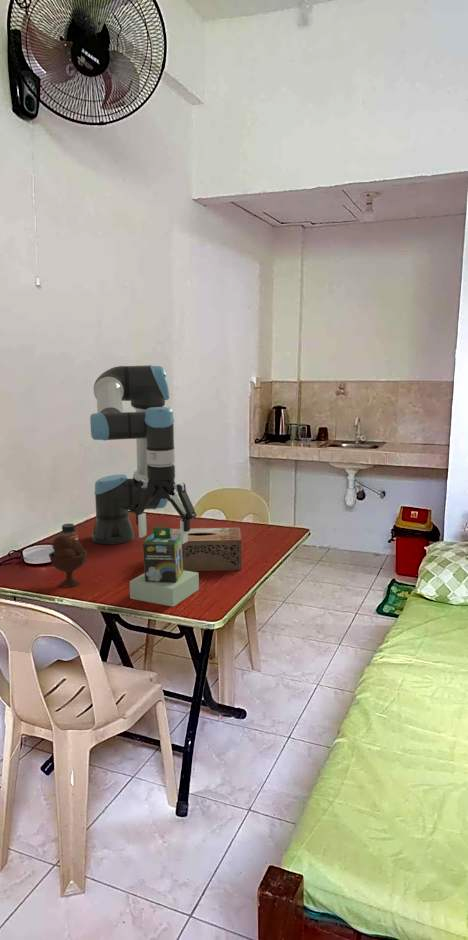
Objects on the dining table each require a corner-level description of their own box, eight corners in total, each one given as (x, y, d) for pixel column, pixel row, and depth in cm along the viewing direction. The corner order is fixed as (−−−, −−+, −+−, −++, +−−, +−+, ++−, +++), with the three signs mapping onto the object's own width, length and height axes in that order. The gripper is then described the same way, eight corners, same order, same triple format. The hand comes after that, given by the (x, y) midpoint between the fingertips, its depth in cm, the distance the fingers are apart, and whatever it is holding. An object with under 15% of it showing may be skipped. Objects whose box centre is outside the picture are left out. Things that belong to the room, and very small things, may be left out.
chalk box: (183, 572, 182) (182, 522, 179) (176, 583, 173) (175, 530, 170) (152, 571, 183) (150, 521, 180) (143, 582, 174) (141, 530, 171)
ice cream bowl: (69, 593, 180) (66, 542, 177) (42, 586, 186) (39, 537, 183) (96, 582, 189) (93, 533, 186) (69, 575, 195) (67, 528, 192)
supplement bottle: (57, 557, 212) (55, 525, 210) (73, 553, 216) (71, 521, 214) (66, 561, 208) (64, 528, 206) (82, 557, 212) (80, 524, 210)
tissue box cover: (239, 556, 212) (239, 527, 210) (241, 570, 198) (241, 540, 196) (163, 557, 212) (162, 528, 210) (159, 572, 197) (158, 541, 196)
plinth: (130, 598, 175) (129, 581, 175) (157, 582, 188) (157, 566, 187) (173, 606, 169) (172, 588, 168) (198, 589, 182) (198, 572, 181)
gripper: (115, 463, 174) (118, 537, 178) (193, 470, 163) (195, 549, 167) (130, 459, 181) (133, 530, 185) (207, 465, 170) (209, 541, 174)
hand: (163, 539), depth 176 cm, fingers open, 13 cm apart
